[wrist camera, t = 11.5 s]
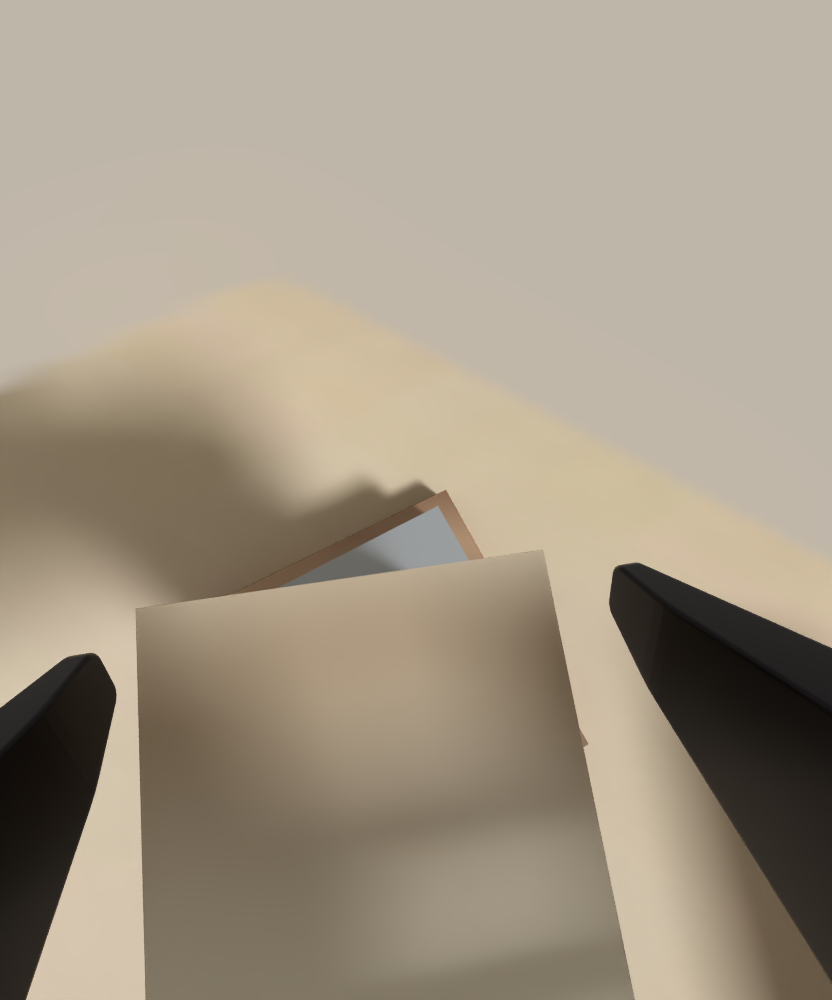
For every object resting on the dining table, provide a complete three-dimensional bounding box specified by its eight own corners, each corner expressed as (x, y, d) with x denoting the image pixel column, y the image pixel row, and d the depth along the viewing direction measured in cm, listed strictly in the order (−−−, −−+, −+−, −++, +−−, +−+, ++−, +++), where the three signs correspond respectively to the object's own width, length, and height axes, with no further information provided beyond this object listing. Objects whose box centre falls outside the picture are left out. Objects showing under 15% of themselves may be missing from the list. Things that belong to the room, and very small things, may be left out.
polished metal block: (461, 732, 16) (637, 1016, 5) (323, 755, 16) (149, 1131, 4) (439, 594, 17) (542, 550, 6) (309, 613, 17) (135, 608, 5)
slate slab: (551, 728, 18) (569, 737, 17) (329, 869, 17) (322, 896, 15) (433, 519, 21) (437, 505, 19) (226, 626, 19) (208, 623, 17)
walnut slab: (569, 735, 20) (588, 744, 18) (320, 890, 18) (312, 917, 16) (441, 503, 23) (445, 490, 21) (210, 616, 21) (193, 612, 19)
